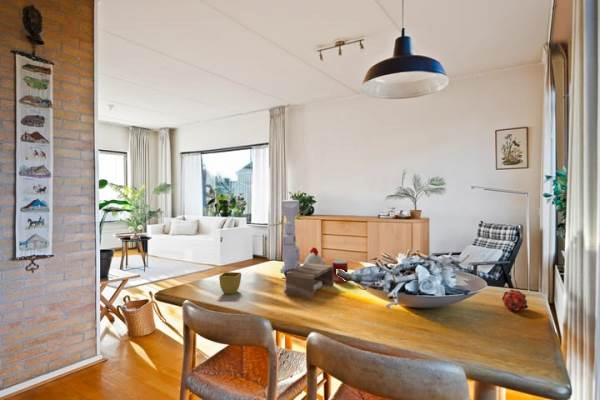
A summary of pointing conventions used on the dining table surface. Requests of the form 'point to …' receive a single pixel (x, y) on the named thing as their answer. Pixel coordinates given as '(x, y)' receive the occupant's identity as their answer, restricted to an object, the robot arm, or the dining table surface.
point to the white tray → (316, 285)
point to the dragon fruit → (514, 300)
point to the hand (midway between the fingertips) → (290, 284)
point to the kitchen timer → (314, 258)
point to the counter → (308, 279)
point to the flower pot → (230, 282)
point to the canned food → (339, 265)
